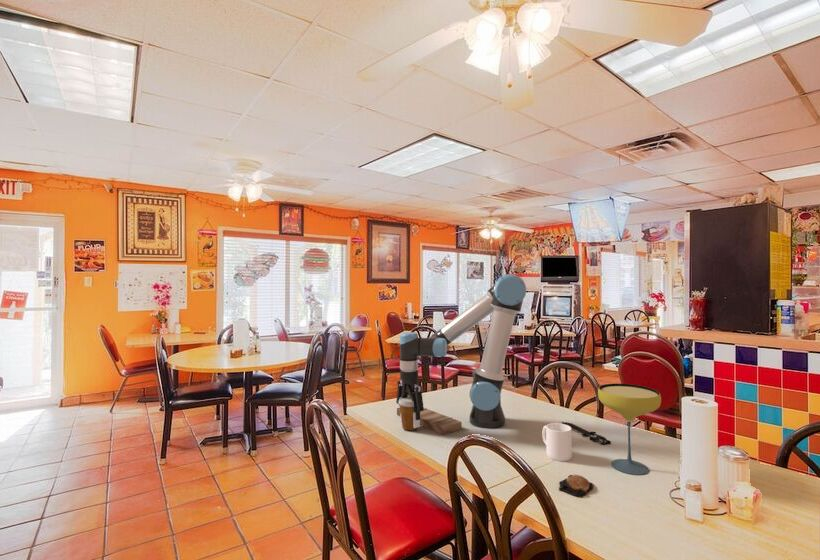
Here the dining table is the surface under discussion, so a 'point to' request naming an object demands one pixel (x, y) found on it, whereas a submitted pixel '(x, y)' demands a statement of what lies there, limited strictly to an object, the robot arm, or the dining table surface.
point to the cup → (558, 441)
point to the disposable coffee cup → (406, 412)
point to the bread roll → (576, 486)
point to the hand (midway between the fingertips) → (409, 424)
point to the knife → (588, 434)
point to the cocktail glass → (629, 414)
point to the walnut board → (437, 421)
